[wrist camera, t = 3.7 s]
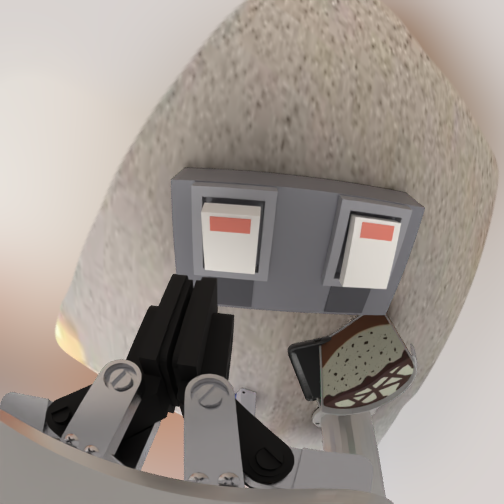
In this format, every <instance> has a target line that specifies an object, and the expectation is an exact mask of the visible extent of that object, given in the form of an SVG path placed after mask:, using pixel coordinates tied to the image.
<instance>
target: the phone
mask: <svg viewBox="0 0 504 504" xmlns="http://www.w3.org/2000/svg"><path fill="white" fill-rule="evenodd" d="M331 338H332V337H329V336H326V337H322V338H318V339H314V340H309V341H305V342H300V343H295V344H292V345H291V346H289V348H288V355H289V358H290V360H291V363H292V365H293V368H294V370H295V373H296V376H297V378H298V381H299V383H300V386H301V388H302V391H303V393H304V396H305V398H306V400H308V401H315V400H316V399H317V398H319V399H321V382H320V354H319V346H320V345H323V344H324V343H326V342H329V341H330V340H331ZM320 339H321V340H320ZM316 340H320V341H316ZM314 341H316V342H314Z"/></svg>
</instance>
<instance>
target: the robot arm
mask: <svg viewBox="0 0 504 504" xmlns="http://www.w3.org/2000/svg"><path fill="white" fill-rule="evenodd" d="M233 329H234V315H231V314H220V313H218V306H217V278H210V277H202V279H201V280H196V282H195V285H194V286H193V280H190V279H188V276H187V275H178V274H173V275H172V277H171V279H170V281H169V283H168V286H167V288H166V290H165V292H164V295H163V297H162V299H161V302H160V304H159V306H152V305H151V306H150V307H149V308H148V310H147V312H146V315H145V317H144V319H143V321H142V324H141V326H140V328H139V330H138V333H137V335H136V337H135V340H134V342H133V344H132V347H131V349H130V351H129V354H128V356H127V359H126V360H124V359H120V360H114V361H111V362H110V363H108V364H106V365H105V366H104V368H103V369H102V370H101V371H100V373H99V375H98V376H97V378H96V379H95V381H94V383H93V384H91V385H89V386H87V387H85V388H82V389H80V390H78V391H76V392H73V393H71V394H69V395H67V396H64V397H62V398H59V399H57V400H55V401H54V402H52V401H50V400H49V399H46V398H40V397H35V396H29V395H24V394H20V393H15V392H10V393H8V394H6V395H5V396H4V397H3V399H2V401H1V403H0V504H393V502H392V501H390V500H389V499H387V498H386V496H385V490H384V485H383V477H382V472H381V465H380V459H379V454H378V448H377V442H376V437H375V432H374V427H373V422H372V417H371V416H372V415H373V414H374V413H375V412H376V411H377V408H376V409H373V410H370V411H367V412H363V413H358V414H352V415H332V414H327V413H324V412H322V411H321V408H318V409H317V410H316V411H315V412H314V413H313V415H312V421H313V424H314V425H315V426H317V427H320V428H322V439H323V440H322V443H323V450H324V451H321V450H314V449H308V448H303V449H297V448H292V447H288V445H287V444H285V443H284V442H283V441H282V440H281V439H279V438H278V437H277V436H276V435H275V434H274V433H272V432H271V431H270V430H269V429H268V428H267V427H266V426H264V425H263V424H262V423H261V422H260V421H259V420H258V419H257V418H256V417H254V416H253V415H252V414H251V413H250V412H249V411H248V410H247V409H246V408H245V407H244V406H243V405H242V404H241V403H240V402H239V401H238V400H236V399H235V393H234V389H233V386H232V385H231V384H230V382H229V381H228V378H229V370H230V361H231V352H232V343H233ZM175 406H178V407H179V406H180V409H181V412H182V415H183V418H184V480H178V479H173V478H168V477H164V476H159V475H155V474H150V473H147V472H143V471H141V468H142V466H143V464H144V461H145V459H146V456H147V454H148V452H149V449H150V447H151V445H152V442H153V440H154V438H155V435H156V433H157V431H158V428H159V426H160V422H161V420H162V419H164V418H166V417H167V413H168V412H171V413H174V410H175ZM244 484H245V485H246V486H248V487H249V488H245V486H244Z"/></svg>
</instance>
